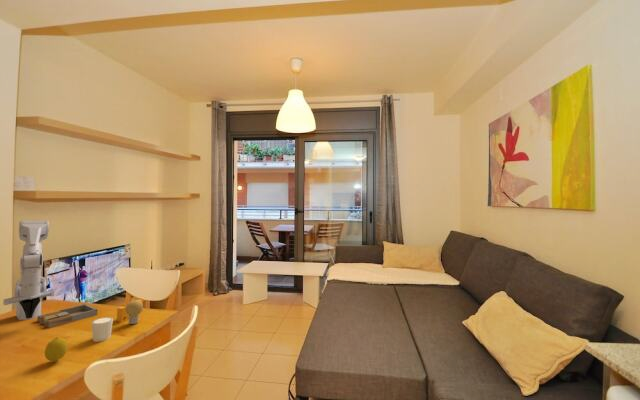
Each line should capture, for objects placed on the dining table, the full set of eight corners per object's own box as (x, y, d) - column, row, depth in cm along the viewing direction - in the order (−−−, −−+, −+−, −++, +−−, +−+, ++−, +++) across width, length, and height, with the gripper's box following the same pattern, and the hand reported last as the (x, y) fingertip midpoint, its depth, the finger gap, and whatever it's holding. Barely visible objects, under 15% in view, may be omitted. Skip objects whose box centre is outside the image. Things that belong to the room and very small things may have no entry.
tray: (59, 315, 129) (60, 310, 129) (84, 309, 138) (85, 304, 138) (71, 321, 124) (71, 315, 124) (97, 314, 132) (97, 309, 132)
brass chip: (43, 322, 121) (43, 317, 122) (53, 320, 125) (54, 314, 125) (47, 325, 120) (47, 319, 120) (57, 322, 123) (58, 316, 123)
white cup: (116, 336, 114) (117, 318, 114) (98, 343, 108) (99, 325, 108) (104, 332, 116) (105, 315, 116) (86, 340, 110) (87, 322, 110)
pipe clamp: (134, 312, 139) (135, 299, 139) (142, 313, 138) (143, 299, 138) (113, 322, 127) (113, 307, 127) (121, 323, 126) (122, 308, 126)
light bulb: (143, 319, 130) (144, 297, 130) (139, 325, 124) (140, 302, 124) (127, 321, 128) (128, 298, 128) (122, 327, 122) (123, 303, 122)
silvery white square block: (55, 319, 125) (55, 314, 125) (65, 317, 128) (65, 311, 128) (59, 321, 123) (59, 316, 123) (69, 319, 126) (69, 313, 126)
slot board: (37, 322, 123) (37, 316, 123) (84, 310, 138) (84, 304, 138) (49, 330, 117) (49, 322, 117) (97, 316, 132) (97, 310, 132)
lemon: (53, 357, 98) (55, 333, 98) (71, 357, 98) (72, 333, 98) (39, 366, 92) (40, 341, 92) (57, 366, 93) (58, 341, 93)
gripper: (8, 290, 108) (6, 326, 108) (57, 281, 121) (56, 314, 120) (2, 287, 111) (0, 321, 111) (50, 279, 124) (49, 310, 124)
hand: (28, 317), depth 116 cm, fingers closed
